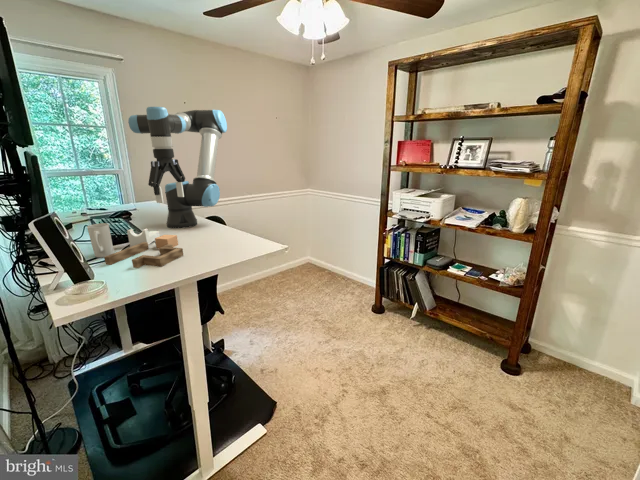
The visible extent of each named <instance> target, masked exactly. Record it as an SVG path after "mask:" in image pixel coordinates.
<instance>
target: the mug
mask: <svg viewBox="0 0 640 480" xmlns="http://www.w3.org/2000/svg"><path fill="white" fill-rule="evenodd" d="M86 229H87V232H88V236H89V240H90V242H91V243H90V244H91V247H92V251H93V253H94V257H95V258H104V257H105V256H108V255H111V254H113V253H115V251H114V246H113V239H112V235H111V230H110V224H109V223H105V222H103V223H102V222H101V223H95V224H90V225H87V226H86Z"/></svg>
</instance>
